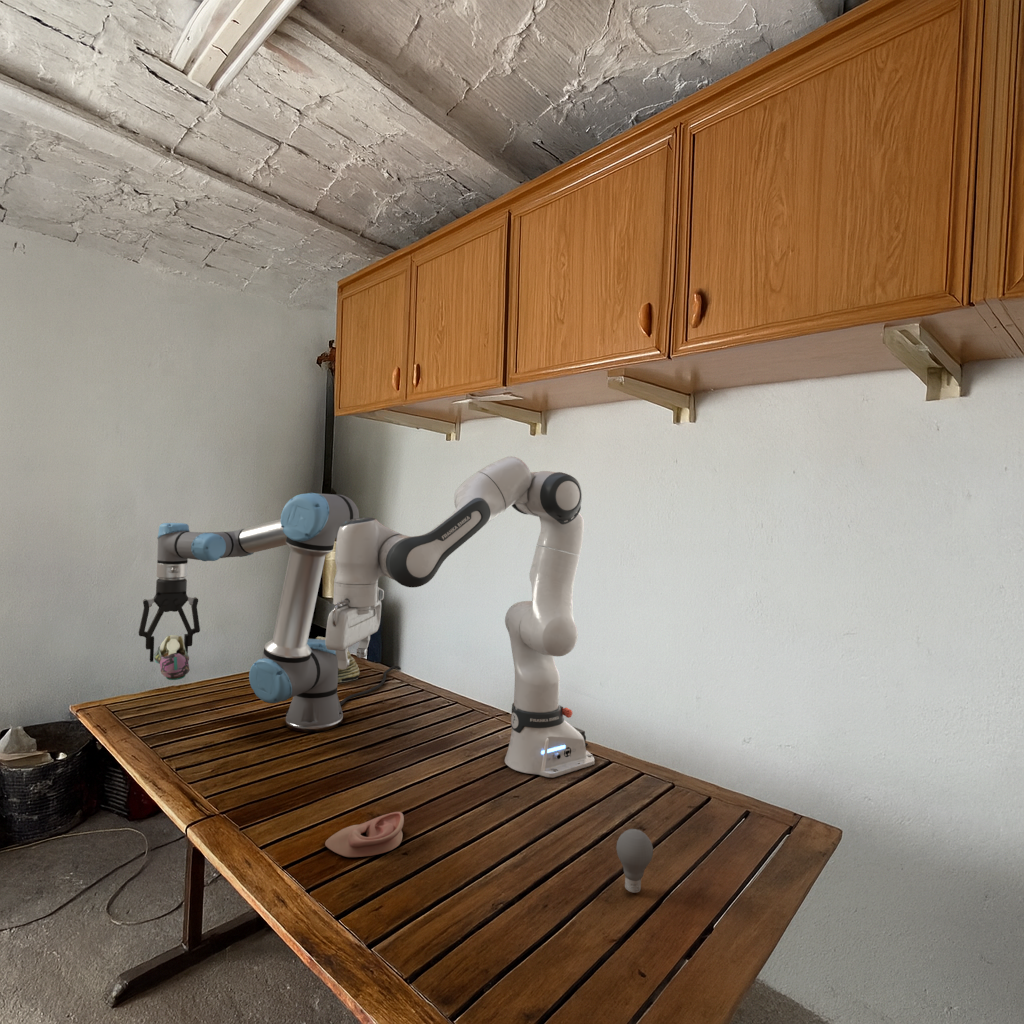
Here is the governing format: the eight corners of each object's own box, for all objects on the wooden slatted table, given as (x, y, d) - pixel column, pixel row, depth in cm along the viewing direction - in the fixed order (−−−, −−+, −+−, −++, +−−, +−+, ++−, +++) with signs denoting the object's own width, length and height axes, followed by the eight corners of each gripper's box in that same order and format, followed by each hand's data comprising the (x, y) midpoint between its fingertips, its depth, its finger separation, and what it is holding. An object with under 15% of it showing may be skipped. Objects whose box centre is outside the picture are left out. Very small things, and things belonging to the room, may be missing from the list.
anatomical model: (317, 830, 113) (346, 800, 124) (316, 852, 113) (345, 821, 124) (387, 841, 110) (410, 810, 121) (386, 864, 110) (410, 831, 121)
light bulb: (610, 879, 108) (613, 822, 108) (644, 879, 109) (647, 822, 109) (619, 902, 102) (622, 840, 102) (655, 901, 103) (658, 840, 103)
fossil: (300, 681, 213) (301, 637, 213) (350, 673, 226) (352, 631, 226) (311, 688, 207) (313, 642, 207) (362, 679, 219) (364, 636, 219)
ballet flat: (185, 657, 183) (186, 627, 183) (194, 679, 162) (195, 645, 162) (152, 660, 178) (153, 629, 178) (157, 683, 158) (158, 648, 158)
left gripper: (129, 581, 168) (126, 666, 169) (214, 579, 179) (210, 659, 180) (128, 577, 175) (125, 659, 175) (210, 575, 186) (207, 652, 186)
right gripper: (349, 604, 120) (346, 677, 120) (386, 590, 140) (384, 652, 141) (318, 602, 121) (315, 674, 121) (359, 588, 141) (357, 650, 141)
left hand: (168, 659), depth 178 cm, fingers closed on ballet flat, 8 cm apart
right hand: (352, 662), depth 131 cm, fingers open, 8 cm apart
